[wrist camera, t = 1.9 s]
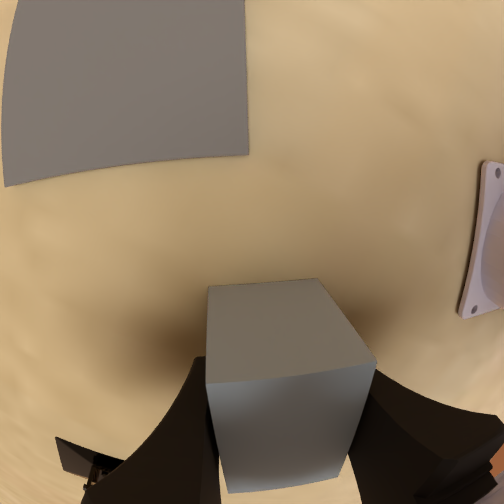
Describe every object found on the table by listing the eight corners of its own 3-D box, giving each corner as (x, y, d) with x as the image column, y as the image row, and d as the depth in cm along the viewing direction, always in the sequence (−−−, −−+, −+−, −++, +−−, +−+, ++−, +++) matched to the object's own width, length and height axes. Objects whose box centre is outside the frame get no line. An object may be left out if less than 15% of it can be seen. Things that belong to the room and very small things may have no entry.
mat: (241, -57, 6) (242, -66, 6) (246, 154, 9) (248, 155, 9) (29, -11, 6) (23, -16, 5) (13, 185, 8) (4, 187, 8)
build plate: (220, 465, 16) (226, 524, 11) (197, 502, 18) (200, 547, 13) (36, 415, 13) (13, 468, 9) (51, 463, 15) (38, 506, 11)
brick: (317, 278, 11) (377, 360, 6) (306, 392, 13) (337, 477, 8) (208, 286, 11) (205, 383, 6) (222, 401, 13) (228, 493, 8)
